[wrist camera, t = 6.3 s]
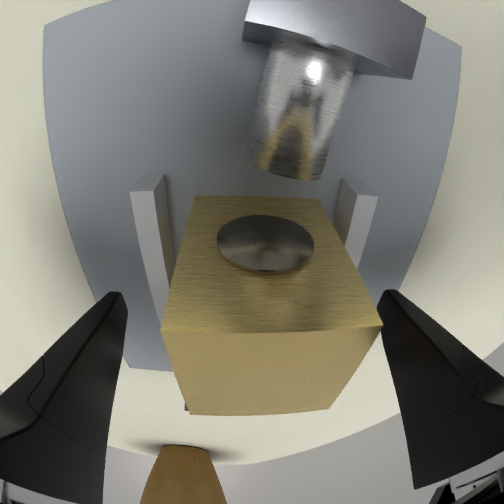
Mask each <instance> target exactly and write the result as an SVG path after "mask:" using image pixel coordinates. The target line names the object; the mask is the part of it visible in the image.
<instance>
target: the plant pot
mask: <svg viewBox="0 0 504 504" xmlns="http://www.w3.org/2000/svg"><path fill="white" fill-rule="evenodd" d="M140 504H227V503H226V500H225V496H224V493H223V490H222V487H221V485H220V482H219V480H218V477H217V474H216V471H215V469H214V466H213V464H212V462H211V459H210V457H209V454H208V452H207V451H205V450H203V449H199V448H194V447H188V446H176V445H169V446H164V447H163V448H162V450H161V452H160V454H159V455H158V457H157V459H156V462H155V464H154V466H153V468H152V470H151V473H150V475H149V477H148V481H147V483H146V486H145V489H144V491H143V495H142V498H141V502H140Z"/></svg>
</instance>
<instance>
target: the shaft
mask: <svg viewBox="0 0 504 504" xmlns="http://www.w3.org/2000/svg"><path fill="white" fill-rule="evenodd" d="M425 22H426V17H425V16H424V15H422V14H421V13H419V12H418V11H416V10H415V9H413V8H411V7H410V6H408V5H406V4H405V3H403V2H401V1H399V0H250V4H249V7H248V11H247V14H246V18H245V22H244V29H243V35H242V41H248V42H253V43H258V44H263V45H267V46H270V49H269V53H268V56H267V60H266V64H265V68H264V72H263V76H262V80H261V84H260V88H259V92H258V96H257V101H256V105H255V109H254V113H253V117H252V122H251V126H250V130H249V135H248V139H247V143H246V148H245V152H244V158H245V160H246V161H247V162H249V163H250V164H252V165H254V166H256V167H258V168H260V169H262V170H265V171H267V172H270V173H273V174H276V175H279V176H283V177H287V178H291V179H297V180H304V181H315V180H319V179H320V178H321V176H322V173H323V170H324V167H325V164H326V161H327V158H328V155H329V152H330V149H331V146H332V142H333V139H334V136H335V133H336V130H337V127H338V123H339V120H340V117H341V114H342V110H343V107H344V104H345V100H346V97H347V93H348V90H349V87H350V83H351V80H352V76H353V73H357V74H359V75H371V76H382V77H391V78H399V79H406V80H412V78H413V74H414V70H415V66H416V62H417V58H418V54H419V50H420V46H421V42H422V37H423V32H424V27H425Z"/></svg>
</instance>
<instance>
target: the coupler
mask: <svg viewBox="0 0 504 504" xmlns="http://www.w3.org/2000/svg"><path fill="white" fill-rule="evenodd" d="M382 327H383V323H382V321H381V318H380V316H379V314H378V312H377V310H376V308H375V306H374V303H373V301H372V299H371V297H370V295H369V293H368V291H367V289H366V287H365V285H364V283H363V281H362V279H361V277H360V275H359V273H358V271H357V269H356V267H355V265H354V263H353V261H352V259H351V257H350V256H349V254H348V252H347V250H346V248H345V246H344V244H343V242H342V241H341V239H340V237H339V235H338V233H337V232H336V230H335V228H334V226H333V224H332V223H331V221H330V219H329V217H328V216H327V214H326V212H325V210H324V209H323V207H322V205H321V204H320V202H319V200H318V199H312V198H292V197H267V196H195V198H194V201H193V204H192V207H191V211H190V214H189V218H188V221H187V225H186V228H185V232H184V235H183V239H182V243H181V246H180V250H179V254H178V258H177V261H176V265H175V269H174V273H173V277H172V281H171V286H170V290H169V294H168V298H167V303H166V307H165V312H164V316H163V321H162V326H161V330H160V331H161V335H162V338H163V341H164V344H165V347H166V350H167V354H168V357H169V359H170V362H171V365H172V368H173V371H174V374H175V377H176V379H177V382H178V385H179V388H180V390H181V393H182V395H183V398H184V401H185V403H186V406H187V408H188V411H189V413H190V414H191V415H213V416H251V415H274V414H288V413H299V412H308V411H317V410H324V409H329V408H330V406H331V405H332V404H333V402H334V401H335V400H336V398H337V397H338V396H339V394H340V393H341V391H342V390H343V389H344V387H345V386H346V384H347V383H348V381H349V380H350V379H351V377H352V376H353V374H354V373H355V371H356V370H357V368H358V367H359V365H360V363H361V362H362V360H363V359H364V357H365V356H366V354H367V352H368V351H369V349H370V347H371V346H372V344H373V342H374V341H375V339H376V337H377V336H378V334H379V332H380V331H381V329H382Z"/></svg>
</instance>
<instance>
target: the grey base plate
mask: <svg viewBox="0 0 504 504" xmlns="http://www.w3.org/2000/svg"><path fill="white" fill-rule="evenodd" d="M249 4H250V0H112V1H109V2H105V3H102V4H98V5H95V6H92V7H89V8H86V9H83V10H80V11H78V12H75V13H72V14H70V15H67V16H65V17H62V18H60V19H57V20H55V21H53V22H50V23H48V24H46V25H44V35H43V92H44V106H45V116H46V125H47V132H48V139H49V146H50V152H51V158H52V163H53V168H54V173H55V178H56V182H57V186H58V191H59V195H60V199H61V203H62V206H63V210H64V214H65V217H66V221H67V224H68V227H69V230H70V234H71V237H72V240H73V243H74V246H75V249H76V252H77V255H78V257H79V260H80V263H81V266H82V268H83V271H84V273H85V276H86V279H87V281H88V284H89V286H90V288H91V291H92V293H93V295H94V298H95V300H96V302H98V301H99V300H100V299H101V298H103V297H104V296H105V295H106V294H107V293H108V292H110V291H119V292H121V293H122V294H123V297H124V300H125V303H126V305H127V308H128V319H127V326H126V333H125V341H124V349H123V357H124V359H125V360H126V362H127V364H128V366H129V367H130V368H138V369H148V370H159V371H173V368H172V365H171V362H170V359H169V357H168V354H167V350H166V347H165V344H164V341H163V338H162V335H161V331H160V330H161V326H162V321H163V316H164V312H165V307H166V303H167V298H168V294H169V290H170V286H171V281H172V277H173V273H174V269H175V265H176V261H177V258H178V254H179V250H180V246H181V243H182V239H183V235H184V232H185V228H186V225H187V221H188V218H189V214H190V211H191V207H192V204H193V201H194V198H195V196H267V197H292V198H312V199H318V200H319V202H320V204H321V205H322V207H323V209H324V210H325V212H326V214H327V216H328V217H329V219H330V221H331V223H332V224H333V226H334V228H335V230H336V232H337V233H338V235H339V237H340V239H341V241H342V242H343V244H344V246H345V248H346V250H347V252H348V254H349V256H350V257H351V259H352V261H353V263H354V265H355V267H356V269H357V271H358V273H359V275H360V277H361V279H362V281H363V283H364V285H365V287H366V289H367V291H368V293H369V295H370V297H371V299H372V301H373V303H374V306H375V308H376V309H377V304H378V302H379V300H380V298H381V296H382V293H383V291H384V290H386V289H395V290H397V291H398V290H399V288H400V286H401V284H402V281H403V279H404V277H405V275H406V273H407V270H408V268H409V266H410V263H411V261H412V259H413V256H414V254H415V251H416V249H417V246H418V244H419V241H420V239H421V236H422V233H423V231H424V228H425V225H426V222H427V220H428V217H429V214H430V211H431V208H432V205H433V202H434V199H435V195H436V192H437V189H438V185H439V182H440V178H441V175H442V171H443V167H444V163H445V159H446V155H447V151H448V147H449V142H450V137H451V133H452V127H453V122H454V116H455V110H456V104H457V97H458V89H459V80H460V68H461V52H462V46H460V45H458V44H456V43H455V42H453V41H451V40H449V39H447V38H445V37H444V36H442V35H440V34H438V33H436V32H434V31H432V30H430V29H427V28H425V27H424V32H423V37H422V42H421V46H420V50H419V54H418V58H417V62H416V66H415V70H414V74H413V78H412V80H406V79H399V78H391V77H382V76H371V75H359V74H357V73H353V76H352V80H351V83H350V87H349V90H348V93H347V97H346V100H345V104H344V107H343V110H342V114H341V117H340V120H339V123H338V127H337V130H336V133H335V136H334V139H333V142H332V146H331V149H330V152H329V155H328V158H327V161H326V164H325V167H324V170H323V173H322V176H321V178H320V179H319V180H315V181H304V180H297V179H291V178H287V177H283V176H279V175H276V174H273V173H270V172H267V171H265V170H262V169H260V168H258V167H256V166H254V165H252V164H250V163H249V162H247V161H246V160H245V158H244V152H245V148H246V143H247V139H248V135H249V130H250V126H251V122H252V117H253V113H254V109H255V105H256V101H257V96H258V92H259V88H260V84H261V80H262V76H263V72H264V68H265V64H266V60H267V56H268V53H269V49H270V46H267V45H263V44H258V43H253V42H248V41H242V35H243V29H244V22H245V18H246V14H247V11H248V7H249ZM173 372H174V371H173Z"/></svg>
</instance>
